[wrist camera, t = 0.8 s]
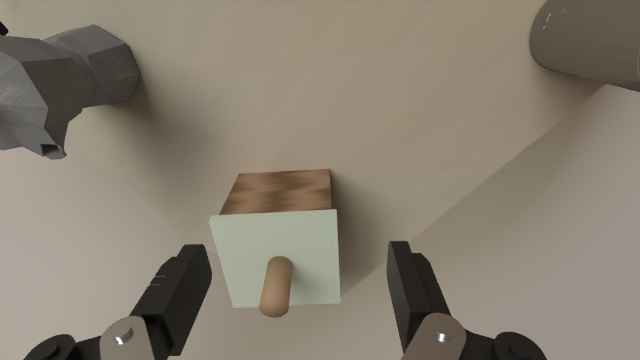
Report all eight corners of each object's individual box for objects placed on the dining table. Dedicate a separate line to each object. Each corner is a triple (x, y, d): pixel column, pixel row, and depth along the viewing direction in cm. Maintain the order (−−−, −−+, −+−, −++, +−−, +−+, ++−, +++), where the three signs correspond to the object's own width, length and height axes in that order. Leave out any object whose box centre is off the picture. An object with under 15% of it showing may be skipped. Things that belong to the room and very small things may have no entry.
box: (329, 169, 44) (332, 213, 35) (332, 240, 51) (336, 294, 41) (239, 173, 45) (216, 218, 35) (253, 244, 51) (238, 298, 41)
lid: (336, 209, 35) (340, 252, 28) (340, 297, 41) (343, 347, 35) (211, 215, 35) (188, 259, 29) (235, 301, 42) (220, 351, 36)
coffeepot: (169, 90, 39) (68, 145, 23) (120, 130, 42) (-2, 203, 26) (60, -33, 33) (-177, -71, 17) (10, 22, 36) (-238, 33, 20)
